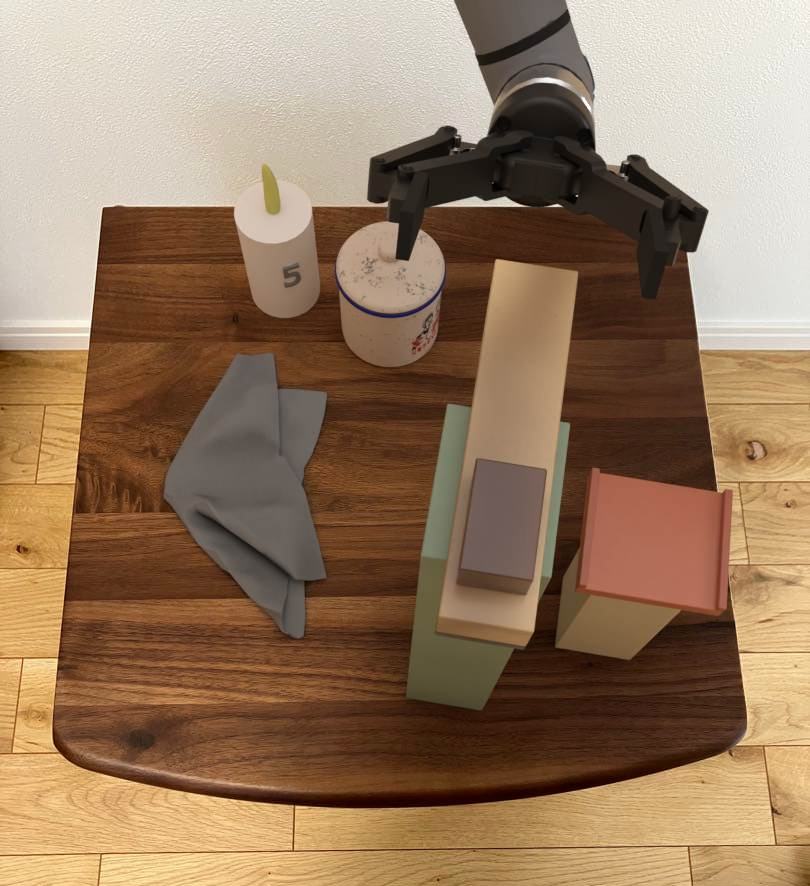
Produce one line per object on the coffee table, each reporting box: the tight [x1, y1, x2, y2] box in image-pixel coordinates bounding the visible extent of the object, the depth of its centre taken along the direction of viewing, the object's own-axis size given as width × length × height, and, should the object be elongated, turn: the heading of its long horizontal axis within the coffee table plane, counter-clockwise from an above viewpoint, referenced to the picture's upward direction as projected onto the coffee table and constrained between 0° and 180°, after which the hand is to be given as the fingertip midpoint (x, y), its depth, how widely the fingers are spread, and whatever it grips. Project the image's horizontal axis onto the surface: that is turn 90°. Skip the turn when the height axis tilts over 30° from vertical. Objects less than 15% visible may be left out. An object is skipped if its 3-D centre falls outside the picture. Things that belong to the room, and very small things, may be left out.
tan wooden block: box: [435, 258, 579, 651], centre depth 43 cm, size 4×18×5 cm, turn 171°
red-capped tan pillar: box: [554, 467, 734, 661], centre depth 68 cm, size 9×8×19 cm
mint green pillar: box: [405, 403, 571, 712], centre depth 60 cm, size 6×8×33 cm
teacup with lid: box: [334, 220, 447, 368], centre depth 81 cm, size 12×9×12 cm
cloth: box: [163, 352, 328, 640], centre depth 79 cm, size 26×14×2 cm, turn 0°
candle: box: [233, 163, 321, 319], centre depth 80 cm, size 6×6×15 cm
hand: (529, 256), depth 51 cm, fingers open, 13 cm apart
